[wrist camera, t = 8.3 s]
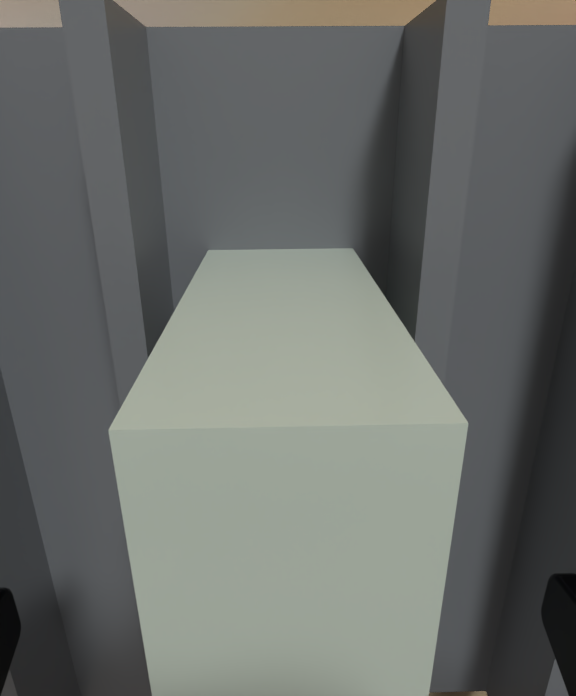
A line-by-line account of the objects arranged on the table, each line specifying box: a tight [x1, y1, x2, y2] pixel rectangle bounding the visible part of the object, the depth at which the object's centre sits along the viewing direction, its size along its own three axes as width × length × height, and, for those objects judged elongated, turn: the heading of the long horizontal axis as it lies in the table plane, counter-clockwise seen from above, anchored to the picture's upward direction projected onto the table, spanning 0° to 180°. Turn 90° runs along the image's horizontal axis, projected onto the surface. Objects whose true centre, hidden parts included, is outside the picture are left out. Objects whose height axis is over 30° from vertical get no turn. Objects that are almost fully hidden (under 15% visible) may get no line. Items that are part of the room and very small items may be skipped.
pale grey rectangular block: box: [108, 248, 468, 696], centre depth 9 cm, size 10×3×7 cm, turn 0°
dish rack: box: [0, 0, 576, 696], centre depth 12 cm, size 18×14×4 cm
